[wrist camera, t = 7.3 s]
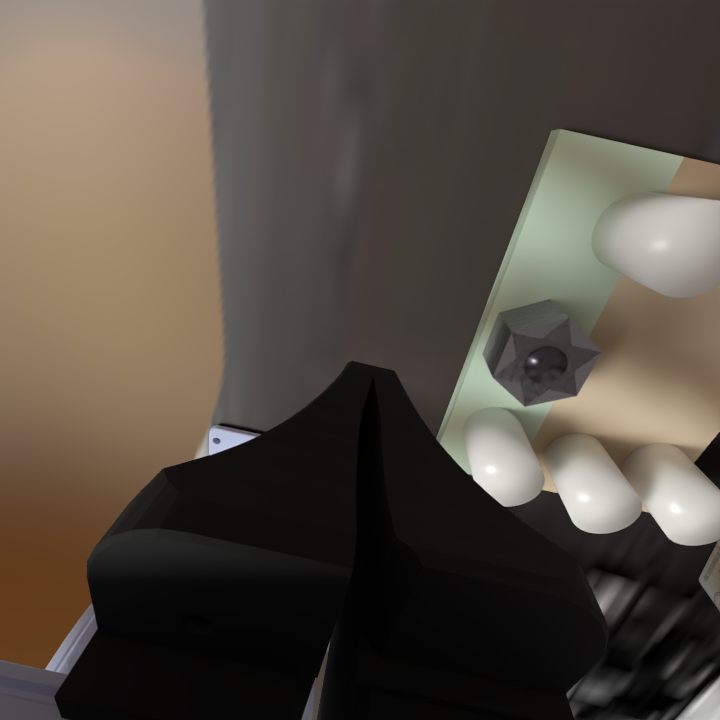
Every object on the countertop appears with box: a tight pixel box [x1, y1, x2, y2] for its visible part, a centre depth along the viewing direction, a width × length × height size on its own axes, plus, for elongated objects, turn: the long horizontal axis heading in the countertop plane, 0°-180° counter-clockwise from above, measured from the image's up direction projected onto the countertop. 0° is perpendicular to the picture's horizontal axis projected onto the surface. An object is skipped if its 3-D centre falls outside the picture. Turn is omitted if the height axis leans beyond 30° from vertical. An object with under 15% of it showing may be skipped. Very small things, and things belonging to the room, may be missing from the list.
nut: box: [482, 299, 602, 407], centre depth 18 cm, size 5×4×2 cm
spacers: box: [463, 192, 720, 546], centre depth 17 cm, size 15×14×4 cm
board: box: [436, 129, 720, 512], centre depth 20 cm, size 18×14×1 cm
